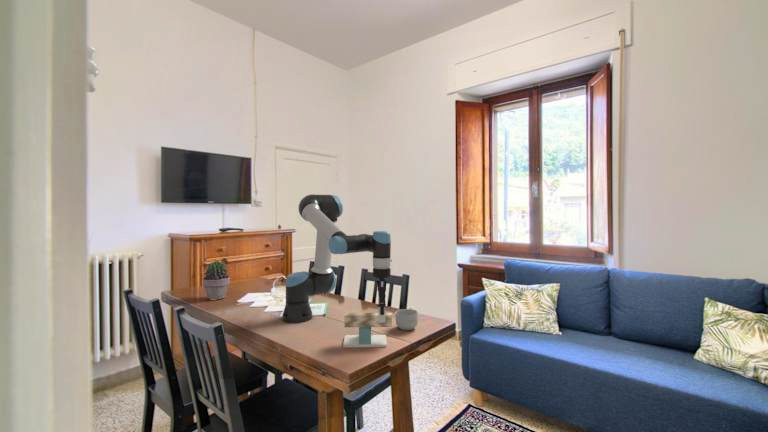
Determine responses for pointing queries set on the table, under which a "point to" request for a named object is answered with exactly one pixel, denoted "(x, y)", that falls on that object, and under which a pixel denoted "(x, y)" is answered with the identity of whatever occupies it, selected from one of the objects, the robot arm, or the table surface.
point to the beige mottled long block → (367, 320)
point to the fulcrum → (365, 339)
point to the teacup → (406, 319)
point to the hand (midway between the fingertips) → (381, 317)
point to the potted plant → (216, 280)
